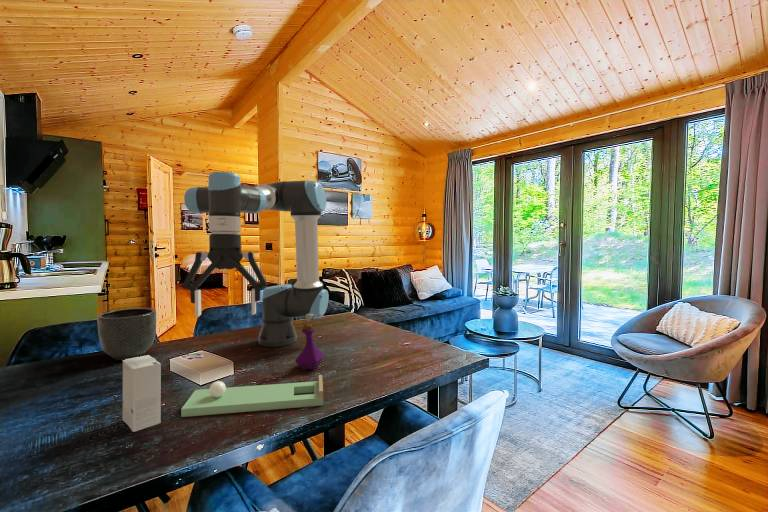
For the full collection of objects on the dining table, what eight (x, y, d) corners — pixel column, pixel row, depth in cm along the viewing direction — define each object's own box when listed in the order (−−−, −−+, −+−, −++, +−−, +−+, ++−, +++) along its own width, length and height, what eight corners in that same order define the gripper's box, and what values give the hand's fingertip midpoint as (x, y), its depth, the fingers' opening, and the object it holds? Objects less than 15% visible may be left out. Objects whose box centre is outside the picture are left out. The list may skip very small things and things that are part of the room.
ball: (211, 393, 97) (211, 379, 97) (227, 392, 98) (227, 378, 97) (207, 400, 93) (207, 385, 93) (224, 399, 94) (223, 384, 93)
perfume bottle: (316, 372, 117) (316, 317, 116) (294, 370, 119) (294, 316, 118) (325, 364, 125) (324, 312, 123) (304, 362, 126) (303, 311, 125)
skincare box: (122, 421, 87) (119, 359, 86) (150, 411, 91) (148, 353, 90) (133, 433, 81) (130, 368, 80) (163, 423, 86) (161, 361, 85)
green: (195, 397, 100) (195, 383, 99) (322, 387, 106) (322, 374, 106) (181, 417, 89) (180, 401, 88) (323, 405, 95) (323, 391, 95)
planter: (87, 361, 126) (85, 315, 125) (137, 347, 142) (135, 306, 141) (120, 368, 120) (118, 320, 119) (168, 352, 136) (167, 310, 135)
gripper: (166, 232, 88) (168, 319, 89) (274, 233, 93) (275, 315, 95) (177, 232, 95) (178, 313, 96) (276, 233, 101) (277, 309, 102)
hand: (226, 314), depth 96 cm, fingers open, 13 cm apart
